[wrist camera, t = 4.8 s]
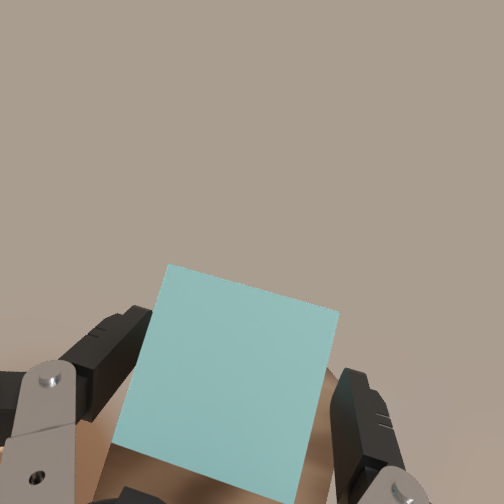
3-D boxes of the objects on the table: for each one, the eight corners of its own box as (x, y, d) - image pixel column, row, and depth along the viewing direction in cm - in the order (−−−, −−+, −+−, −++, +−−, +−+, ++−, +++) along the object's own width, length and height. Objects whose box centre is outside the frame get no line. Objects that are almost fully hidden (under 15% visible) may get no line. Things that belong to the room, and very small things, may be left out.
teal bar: (111, 442, 7) (168, 263, 7) (240, 325, 34) (250, 291, 35) (293, 506, 6) (340, 311, 7) (274, 336, 34) (284, 301, 34)
